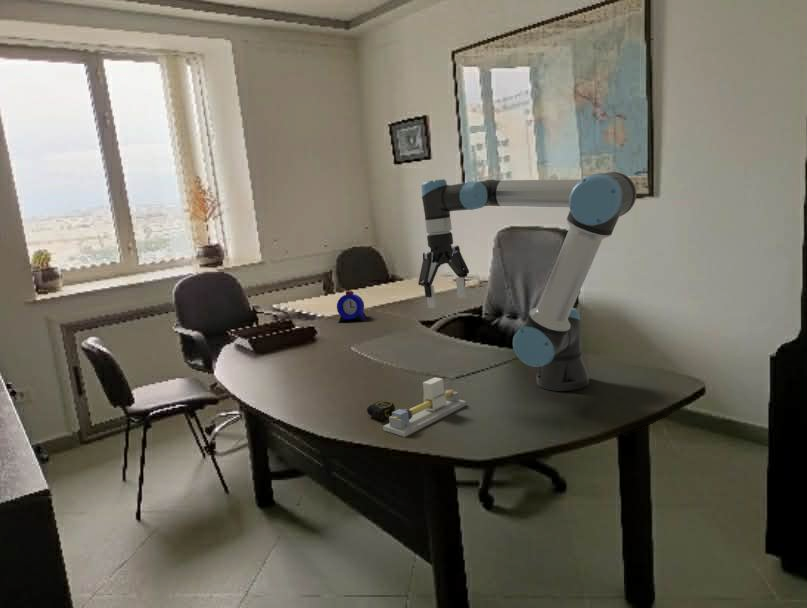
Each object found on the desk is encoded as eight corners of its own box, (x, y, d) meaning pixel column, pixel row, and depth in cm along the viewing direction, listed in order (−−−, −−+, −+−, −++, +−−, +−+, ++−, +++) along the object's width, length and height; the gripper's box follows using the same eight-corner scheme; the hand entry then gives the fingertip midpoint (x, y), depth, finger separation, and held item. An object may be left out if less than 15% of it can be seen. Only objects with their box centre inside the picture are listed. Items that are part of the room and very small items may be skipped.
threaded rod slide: (445, 400, 179) (443, 383, 178) (466, 405, 173) (464, 388, 172) (383, 430, 162) (381, 412, 161) (404, 436, 156) (402, 418, 155)
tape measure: (366, 417, 173) (365, 404, 172) (387, 410, 176) (385, 398, 175) (379, 423, 167) (378, 411, 166) (400, 416, 171) (398, 403, 170)
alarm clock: (337, 323, 296) (333, 293, 293) (344, 317, 307) (340, 288, 304) (362, 321, 293) (358, 291, 290) (367, 316, 305) (364, 286, 302)
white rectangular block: (436, 403, 173) (433, 377, 172) (446, 405, 170) (444, 379, 169) (424, 409, 170) (421, 382, 168) (434, 411, 167) (431, 384, 165)
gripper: (457, 227, 192) (464, 293, 196) (400, 239, 176) (409, 311, 180) (475, 226, 187) (482, 294, 191) (419, 238, 170) (428, 312, 174)
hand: (447, 302), depth 185 cm, fingers open, 13 cm apart
